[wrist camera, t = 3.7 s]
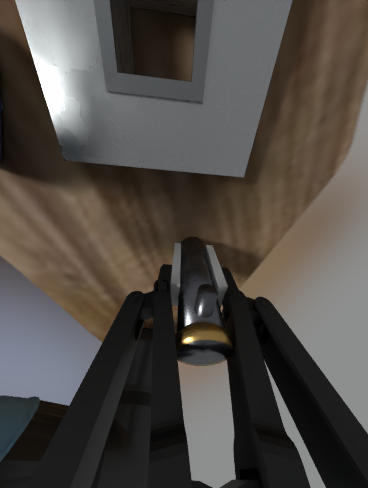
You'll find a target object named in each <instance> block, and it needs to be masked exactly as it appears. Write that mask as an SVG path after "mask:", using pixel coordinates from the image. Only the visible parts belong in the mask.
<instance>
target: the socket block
mask: <svg viewBox="0 0 368 488" xmlns="http://www.w3.org/2000/svg"><path fill="white" fill-rule="evenodd" d="M15 1H16V4H17V7H18V11H19V14H20V17H21V20H22V24H23V27H24V30H25V33H26V37H27V40H28V43H29V47H30V50H31V53H32V56H33V60H34V63H35V66H36V69H37V73H38V76H39V79H40V82H41V86H42V89H43V92H44V95H45V99H46V102H47V105H48V109H49V112H50V115H51V118H52V122H53V125H54V128H55V131H56V135H57V138H58V141H59V144H60V148H61V151H62V154H63V157H64V160H65V161H76V162H86V163H97V164H107V165H118V166H128V167H139V168H149V169H160V170H171V171H181V172H192V173H202V174H213V175H223V176H234V177H244V175H245V171H246V168H247V164H248V160H249V157H250V153H251V149H252V146H253V142H254V139H255V135H256V131H257V128H258V124H259V120H260V117H261V113H262V109H263V106H264V102H265V99H266V95H267V91H268V88H269V84H270V80H271V77H272V73H273V69H274V66H275V62H276V59H277V55H278V51H279V48H280V44H281V40H282V37H283V33H284V29H285V26H286V22H287V19H288V15H289V11H290V8H291V4H292V0H15ZM130 7H135V8H142V9H148V10H155V11H162V12H168V13H175V14H181V15H188V16H195V17H196V23H195V36H194V49H193V63H192V76H191V82H187V81H180V80H172V79H164V78H156V77H148V76H140V75H135V73H134V58H133V43H132V28H131V13H130Z"/></svg>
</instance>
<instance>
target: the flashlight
mask: <svg viewBox="0 0 368 488" xmlns="http://www.w3.org/2000/svg"><path fill="white" fill-rule="evenodd" d="M175 341H176V351H177V360H178V361H180V362H182V363H185V364H188V365H194V366H208V365H214V364H218V363H221V362H223V361H226V360H228V359H229V358H230V357H231V356H232V354H233V352H234V349H233V345H232V342H231V338H230V334H229V332H228V331H227V330H226V329H225V325H224V321H223V317H222V314H221V310H220V306H219V302H218V291H217V289H216V288H215V287H214V283H213V279H212V276H211V272H210V268H209V264H208V260H207V257H206V253H205V249H204V245H203V242H202V241H201V240H200V239H199V238H196V237H188V238H186V239H184V240H183V241H182V242H181V265H180V290H179V295H178V322H177V333H176V335H175Z"/></svg>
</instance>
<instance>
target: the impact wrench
mask: <svg viewBox="0 0 368 488" xmlns="http://www.w3.org/2000/svg"><path fill="white" fill-rule="evenodd" d="M2 110H3V104H2V100H1V96H0V163H1V155H2Z"/></svg>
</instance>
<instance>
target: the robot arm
mask: <svg viewBox="0 0 368 488" xmlns="http://www.w3.org/2000/svg"><path fill="white" fill-rule="evenodd" d="M205 253H206V257H207V260H208V264H209V268H210V272H211V276H212V279H213V283H214V287H215V288H216V289H217V291H218V302H219V306H220V308H221V305H223V310H222V313H221V314H222V316H223V321H224V325H225V329H226V330H227V331H228V332H229V334H230V338H231V342H232V345H233V349H234V352H233V354H232V356H231V357H230V358H229V359H228V360H227V364H228V373H229V383H230V392H231V402H232V412H233V422H234V433H235V434H234V435H235V436H234V463H235V474H236V480H231V481H230V482H228V483H227V484H225V485H223V486H222V487H220V488H310V485H309V482H308V478H307V475H306V472H305V469H304V466H303V463H302V460H301V458H300V455H299V453H298V450H297V448H296V446H295V445H294V443H293V441H292V440H291V439H290V438H289V437H288V435H287V433H286V431H285V429H284V426H283V423H282V419H281V416H280V413H279V409H278V406H277V402H276V400H275V396H274V392H273V389H272V386H271V382H270V379H269V376H268V372H267V369H266V365H267V367H268V369H269V371H270V373H271V375H272V377H273V379H274V381H275V383H276V385H277V387H278V389H279V391H280V394H281V396H282V398H283V400H284V402H285V404H286V406H287V408H288V410H289V412H290V414H291V416H292V418H293V420H294V422H295V425H296V427H297V429H298V431H299V433H300V435H301V437H302V439H303V441H304V443H305V445H306V447H307V449H308V452H309V454H310V456H311V458H312V460H313V461H314V464H315V466H316V468H317V470H318V472H319V474H320V476H321V478H322V480H323V482H324V484H325V486H326V488H368V434H367V432H366V431H365V430H364V428H363V427H362V426H361V424H360V423H359V422H358V420H357V419H356V417H355V416H354V415H353V413H352V412H351V411H350V409H349V408H348V406H347V405H346V404H345V402H344V401H343V400H342V398H341V397H340V396H339V394H338V393H337V391H336V390H335V389H334V387H333V386H332V385H331V383H330V382H329V381H328V379H327V378H326V376H325V375H324V374H323V372H322V371H321V370H320V368H319V367H318V366H317V364H316V363H315V362H314V360H313V359H312V357H311V356H310V355H309V353H308V352H307V351H306V349H305V348H304V347H303V345H302V344H301V342H300V341H299V340H298V338H297V337H296V336H295V334H294V333H293V332H292V330H291V329H290V328H289V326H288V325H287V323H286V322H285V321H284V319H283V318H282V317H281V315H280V314H279V313H278V311H277V310H276V309H275V307H274V306H273V304H272V303H271V302H270V301H269V300H267V299H266V298H264V297H257V298H256V299H255V300H254V299H251V298H248V297H246V296H245V295H244V294H243V293H242V292H241V291H240V290H238V288H237V285H236V283H235V281H234V279H233V277H232V274H231V272H230V271H229V270H228V269H227V268H221V267H220V264H219V261H218V259H217V256H216V253H215V251H214V248H213V245H206V250H205ZM180 265H181V243H175V245H174V255H173V265H165V264H163V265H162V266H161V268H160V272H159V277H158V280H156V281H155V283H154V290H153V291H152V292H149V293H145V294H143V293H142V292H140V291H134V292H131V293H130V294H129V295H128V296H127V298H126V299H125V301H124V303H123V305H122V307H121V309H120V311H119V313H118V315H117V317H116V318H115V320H114V322H113V324H112V326H111V328H110V330H109V332H108V334H107V336H106V337H105V339H104V341H103V343H102V345H101V347H100V349H99V351H98V353H97V355H96V356H95V358H94V360H93V362H92V364H91V366H90V368H89V370H88V372H87V373H86V375H85V377H84V379H83V381H82V383H81V385H80V387H79V389H78V391H77V392H76V394H75V396H74V398H73V400H72V402H71V404H70V406H67V405H62V404H57V403H52V402H47V401H42V400H40V399H39V397H30V398H21V397H13V396H0V488H212V487H210V486H208V485H206V484H204V483H202V482H200V481H192V480H191V472H190V463H189V453H188V445H187V437H186V431H185V427H184V420H183V410H182V401H181V392H180V380H179V372H178V361H177V351H176V341H175V331H174V321H173V311H172V305H173V306H178V295H179V290H180ZM152 317H153V330H150V329H143V326H144V323H145V320H146V319H149V318H152ZM264 360H265V362H266V365H265V362H264Z"/></svg>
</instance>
